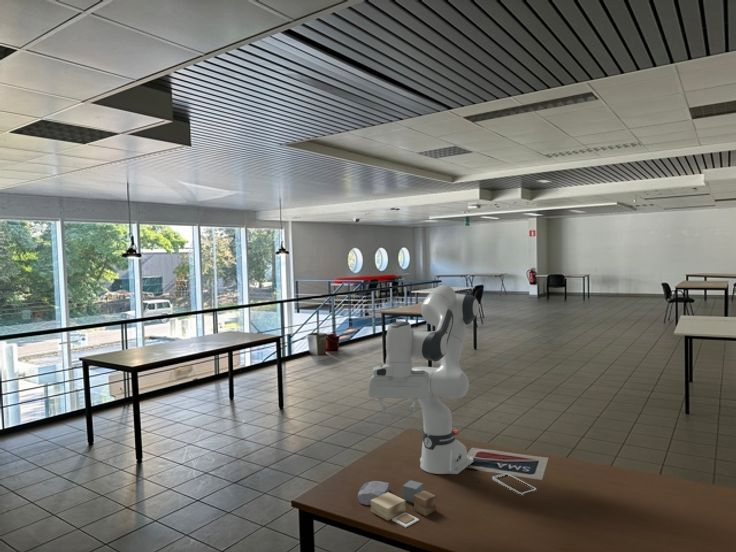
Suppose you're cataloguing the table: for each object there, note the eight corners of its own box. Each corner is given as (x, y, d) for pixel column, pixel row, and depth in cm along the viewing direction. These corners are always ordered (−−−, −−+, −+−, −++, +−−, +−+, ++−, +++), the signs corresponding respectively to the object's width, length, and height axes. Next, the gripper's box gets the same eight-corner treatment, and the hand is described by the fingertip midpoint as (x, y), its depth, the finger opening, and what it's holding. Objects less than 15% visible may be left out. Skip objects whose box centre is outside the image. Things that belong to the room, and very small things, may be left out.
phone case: (491, 480, 180) (521, 497, 166) (491, 476, 180) (521, 493, 166) (507, 476, 183) (537, 492, 169) (507, 472, 183) (537, 488, 169)
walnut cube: (424, 505, 162) (424, 490, 162) (435, 510, 158) (435, 495, 158) (414, 510, 158) (413, 495, 158) (425, 516, 155) (425, 500, 155)
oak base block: (388, 503, 164) (388, 492, 164) (405, 512, 158) (405, 500, 158) (370, 512, 159) (370, 500, 159) (387, 521, 153) (387, 508, 152)
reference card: (405, 513, 157) (405, 511, 157) (419, 520, 152) (419, 518, 152) (392, 520, 153) (391, 518, 153) (405, 527, 148) (405, 525, 148)
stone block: (357, 510, 164) (386, 506, 162) (354, 495, 164) (382, 491, 162) (365, 494, 175) (392, 491, 173) (362, 481, 176) (389, 477, 173)
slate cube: (410, 494, 170) (410, 480, 170) (423, 497, 167) (423, 483, 167) (403, 500, 166) (403, 485, 165) (416, 504, 163) (416, 489, 163)
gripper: (428, 369, 168) (427, 409, 167) (368, 368, 168) (367, 408, 167) (430, 371, 162) (429, 414, 161) (368, 370, 162) (367, 412, 161)
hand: (397, 411), depth 164 cm, fingers open, 8 cm apart
